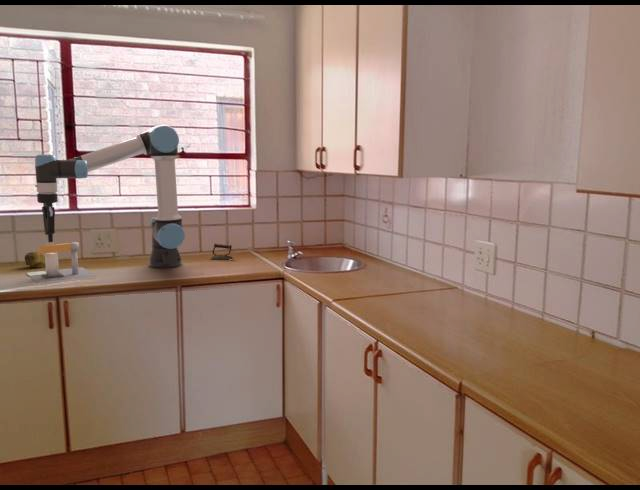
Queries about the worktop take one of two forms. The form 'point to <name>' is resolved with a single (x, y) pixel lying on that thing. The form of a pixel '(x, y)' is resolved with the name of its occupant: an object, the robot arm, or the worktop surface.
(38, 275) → the pad
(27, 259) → the potato
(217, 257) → the clothes iron
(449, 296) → the worktop surface
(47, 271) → the plug
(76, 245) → the orange bar
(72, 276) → the white stand
